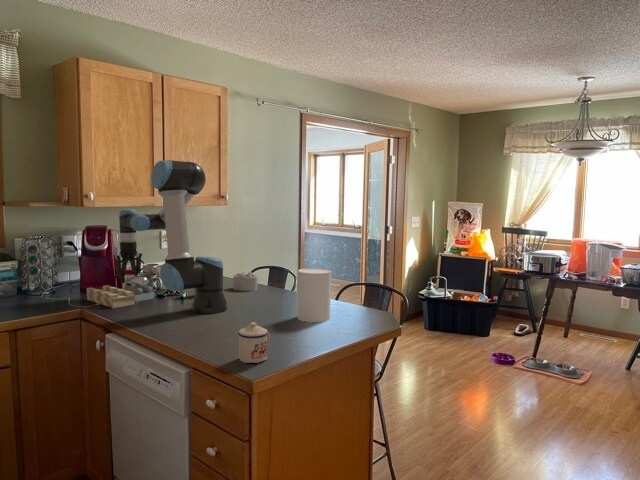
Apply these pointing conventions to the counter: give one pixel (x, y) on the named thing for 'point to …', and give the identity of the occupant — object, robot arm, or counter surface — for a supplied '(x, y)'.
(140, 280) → the axle
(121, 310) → the counter surface
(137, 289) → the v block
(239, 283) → the lumpy-topped squat cylinder
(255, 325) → the teacup with lid
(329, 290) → the canister
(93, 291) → the beige egg carton
